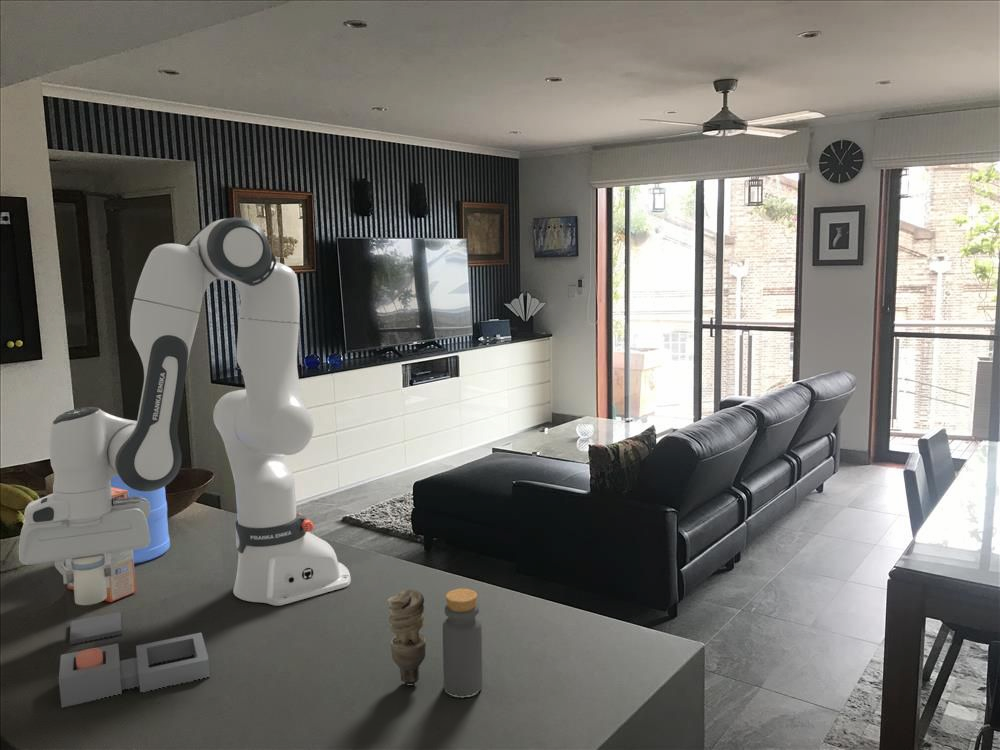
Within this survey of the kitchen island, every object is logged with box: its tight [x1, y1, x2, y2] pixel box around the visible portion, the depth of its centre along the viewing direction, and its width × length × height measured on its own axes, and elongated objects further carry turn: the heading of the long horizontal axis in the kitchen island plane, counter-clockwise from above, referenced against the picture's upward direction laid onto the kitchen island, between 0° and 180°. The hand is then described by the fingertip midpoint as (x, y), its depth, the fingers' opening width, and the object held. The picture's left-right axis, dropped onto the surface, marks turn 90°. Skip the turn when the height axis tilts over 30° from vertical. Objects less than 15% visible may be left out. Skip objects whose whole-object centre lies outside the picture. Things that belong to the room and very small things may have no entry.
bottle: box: [442, 588, 483, 696], centre depth 121 cm, size 6×6×15 cm
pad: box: [69, 611, 123, 645], centre depth 142 cm, size 8×8×1 cm
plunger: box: [76, 647, 103, 670], centre depth 122 cm, size 4×4×5 cm
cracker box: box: [64, 487, 137, 603], centre depth 157 cm, size 14×6×21 cm, turn 59°
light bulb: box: [386, 589, 427, 685], centre depth 122 cm, size 6×6×15 cm
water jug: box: [111, 476, 171, 565], centre depth 175 cm, size 16×16×28 cm
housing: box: [58, 632, 211, 709], centre depth 125 cm, size 20×10×4 cm, turn 116°
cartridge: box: [71, 554, 107, 606], centre depth 140 cm, size 5×5×8 cm
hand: (89, 579), depth 140 cm, fingers closed on cartridge, 5 cm apart
